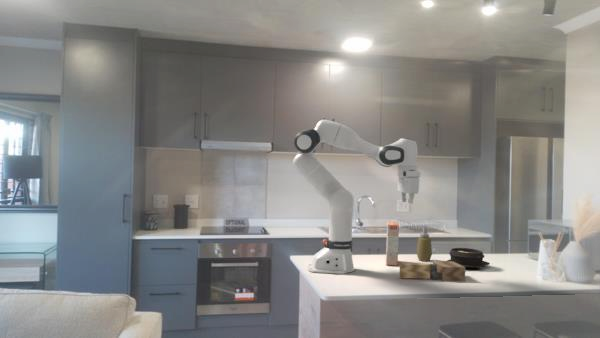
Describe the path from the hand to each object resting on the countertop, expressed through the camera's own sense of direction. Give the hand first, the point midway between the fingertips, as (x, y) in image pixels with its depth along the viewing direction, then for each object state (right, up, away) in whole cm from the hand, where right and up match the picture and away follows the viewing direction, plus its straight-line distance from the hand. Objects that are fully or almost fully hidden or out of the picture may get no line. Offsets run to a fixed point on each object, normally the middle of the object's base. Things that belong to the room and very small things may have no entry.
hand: (407, 202), depth 192 cm
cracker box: (-2, -34, +24) cm, 41 cm away
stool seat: (+15, -34, -5) cm, 37 cm away
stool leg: (+3, -33, -8) cm, 34 cm away
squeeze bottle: (+18, -34, +32) cm, 50 cm away
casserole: (+35, -35, +19) cm, 53 cm away
